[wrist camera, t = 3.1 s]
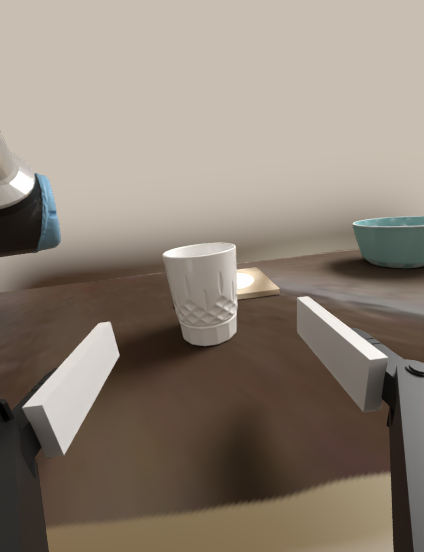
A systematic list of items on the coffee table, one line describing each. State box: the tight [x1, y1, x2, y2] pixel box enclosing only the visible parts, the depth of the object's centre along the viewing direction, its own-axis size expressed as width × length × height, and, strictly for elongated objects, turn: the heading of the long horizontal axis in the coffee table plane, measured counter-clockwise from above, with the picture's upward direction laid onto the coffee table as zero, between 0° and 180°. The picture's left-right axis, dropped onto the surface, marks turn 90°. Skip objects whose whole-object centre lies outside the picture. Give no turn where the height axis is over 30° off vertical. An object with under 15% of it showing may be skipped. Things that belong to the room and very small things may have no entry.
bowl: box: [352, 216, 424, 268], centre depth 41 cm, size 16×16×8 cm
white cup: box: [163, 243, 237, 346], centre depth 24 cm, size 8×8×10 cm
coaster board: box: [237, 267, 280, 300], centre depth 40 cm, size 16×14×1 cm
